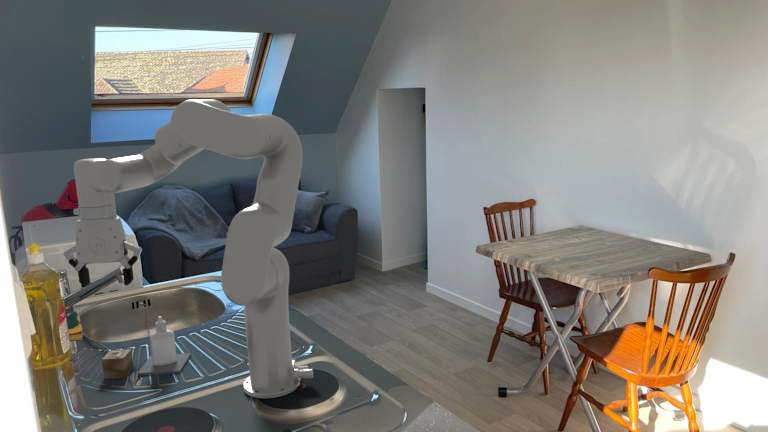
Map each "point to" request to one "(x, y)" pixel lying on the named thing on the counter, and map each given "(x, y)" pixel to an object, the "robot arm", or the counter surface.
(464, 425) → the counter surface
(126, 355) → the walnut cube
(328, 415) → the counter surface
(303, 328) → the counter surface
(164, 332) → the eye dropper bottle
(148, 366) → the slate mat
